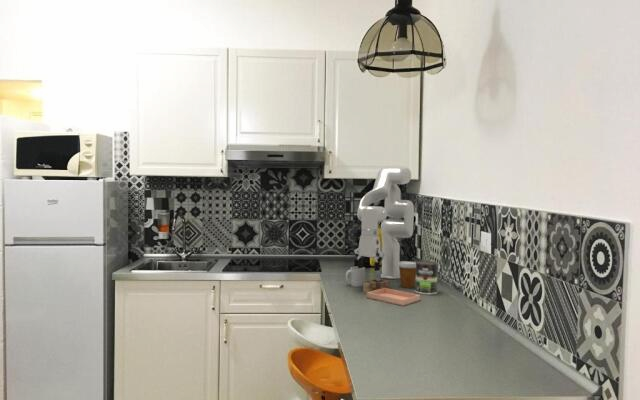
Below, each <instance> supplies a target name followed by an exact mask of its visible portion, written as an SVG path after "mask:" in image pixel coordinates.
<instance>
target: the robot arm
mask: <svg viewBox="0 0 640 400" xmlns="http://www.w3.org/2000/svg"><path fill="white" fill-rule="evenodd" d="M411 178H412V172H411V170H410V168H409V167H383V168H381V169H379V170H378V172H377V174H376V178H375V181H374V185H373V188H372V189H371V190H370V191H368V192H367V193H365V195H363V197H362V198H361V199H360V201H359V204H358V208H357V211H356V214H357V219H358V221H359V220H360V222H361V235H360V236H359V242H358V247H357V248H355V249H353V252H354V254H355V257H356V260H357V263H358V264H357V266H358V268H363V267H364V258H372V259H373V260H374V261H375V262H374V271H375V272H376V271H378V272H379V271H380V268H381V272H382V274H381V279H389V280H391V279H392V280H393V279H400V270H399V266H398V264H399V262H400V259H401V258H400V257H401V256H400V252H401V251H400V250H401V248H400V243H399V241H398V239H397V238H402V239H406V238H407V239H408V238H411V237H412V236H413V233H414V219H415V218H414V217H415V216H414V215H415V212H414V211H415V209H414V203H413V201H411V200H408V199H402V198H401V189H400V187H399V186H398V185H405V184H408V183H410V181H411ZM382 200H384V207H383V206H377V205H376V206H375V205H374V206H373V205H372V204H373V203H377V202H379V201H382ZM387 217H390V218H403V219H387ZM378 223H381V224H380V231H378V230H379V229H378V228H379V227H378ZM380 232H381V241H380V236H378V235H379V234H380ZM381 243H382V244H381Z"/></svg>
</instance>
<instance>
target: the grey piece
mask: <svg viewBox="0 0 640 400" xmlns="http://www.w3.org/2000/svg"><path fill="white" fill-rule="evenodd" d="M375 273H376V275H375V279H376V282H381V279H382V277H381V274H382V271H379V270H378V271H375Z"/></svg>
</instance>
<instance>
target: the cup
mask: <svg viewBox="0 0 640 400" xmlns="http://www.w3.org/2000/svg"><path fill="white" fill-rule="evenodd" d="M349 276H350V278H349ZM365 279H366V267H364V266H363V268H358V265H356V266H351V267H350V269H348V270H347V271H346V273H345V282H346V283H348V284H350V286H351V287H355V288H357V287H358V288H361V287H362V288H363V283H366V280H365Z"/></svg>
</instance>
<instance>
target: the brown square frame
mask: <svg viewBox="0 0 640 400" xmlns="http://www.w3.org/2000/svg"><path fill="white" fill-rule="evenodd" d="M382 288H387V289H390V288H391V281H390V280H387V279H384V278H381V282H376V278H372V279H368V280H366V282H365V283H363V286H362V292H363V293H367V292H371V291H375V290H378V289H382Z"/></svg>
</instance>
